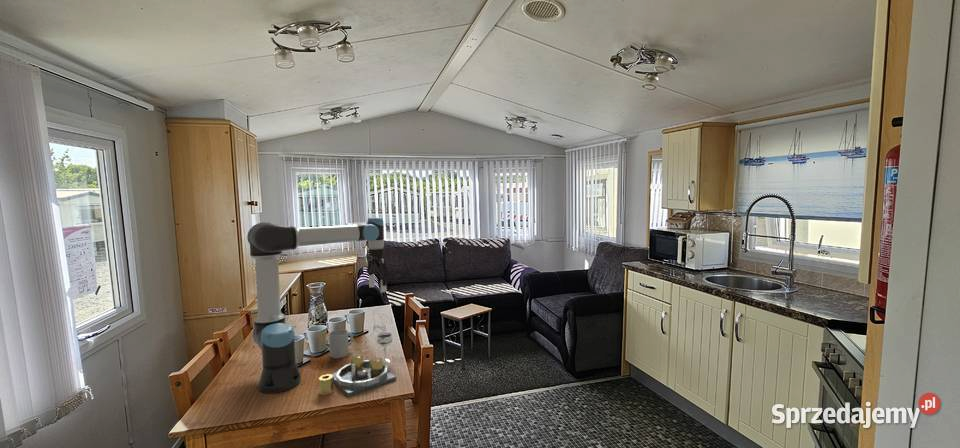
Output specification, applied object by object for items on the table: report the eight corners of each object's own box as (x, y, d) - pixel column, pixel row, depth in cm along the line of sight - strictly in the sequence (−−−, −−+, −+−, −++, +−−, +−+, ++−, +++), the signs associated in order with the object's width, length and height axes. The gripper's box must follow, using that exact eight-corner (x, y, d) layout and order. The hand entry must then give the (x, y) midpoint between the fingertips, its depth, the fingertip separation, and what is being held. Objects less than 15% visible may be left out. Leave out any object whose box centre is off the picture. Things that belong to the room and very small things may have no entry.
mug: (336, 360, 176) (336, 337, 175) (326, 355, 181) (325, 333, 180) (358, 351, 186) (357, 329, 185) (347, 347, 191) (346, 326, 190)
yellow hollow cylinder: (322, 396, 144) (321, 381, 144) (318, 391, 148) (317, 376, 147) (335, 392, 147) (334, 377, 147) (330, 387, 151) (330, 373, 150)
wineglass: (381, 357, 179) (380, 332, 178) (395, 357, 178) (394, 332, 177) (375, 363, 172) (374, 337, 171) (389, 364, 171) (388, 338, 170)
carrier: (348, 396, 144) (347, 375, 143) (329, 377, 159) (329, 358, 158) (396, 379, 157) (395, 359, 156) (375, 363, 172) (374, 345, 171)
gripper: (394, 249, 185) (396, 292, 187) (372, 245, 204) (374, 284, 206) (380, 251, 180) (381, 295, 182) (359, 246, 199) (360, 286, 201)
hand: (377, 289), depth 194 cm, fingers open, 13 cm apart
